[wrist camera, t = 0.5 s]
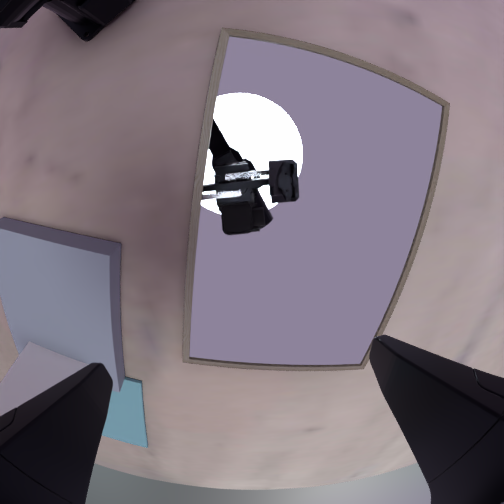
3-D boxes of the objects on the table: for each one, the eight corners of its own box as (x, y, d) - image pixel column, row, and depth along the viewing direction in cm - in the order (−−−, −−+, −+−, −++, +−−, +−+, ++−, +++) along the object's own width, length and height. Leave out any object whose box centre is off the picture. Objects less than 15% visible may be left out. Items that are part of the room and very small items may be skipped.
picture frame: (360, 363, 28) (442, 103, 17) (363, 369, 27) (449, 103, 16) (183, 355, 25) (222, 32, 15) (182, 362, 24) (221, 27, 14)
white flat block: (29, 341, 21) (-21, 421, 10) (89, 364, 22) (48, 463, 11) (33, 352, 21) (-13, 431, 10) (92, 375, 23) (55, 471, 12)
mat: (16, 336, 23) (15, 338, 23) (141, 381, 26) (141, 383, 26) (49, 412, 30) (49, 414, 30) (148, 445, 33) (147, 447, 32)
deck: (3, 216, 18) (-12, 225, 16) (121, 243, 20) (109, 255, 18) (27, 342, 24) (18, 354, 22) (125, 376, 26) (119, 392, 24)
